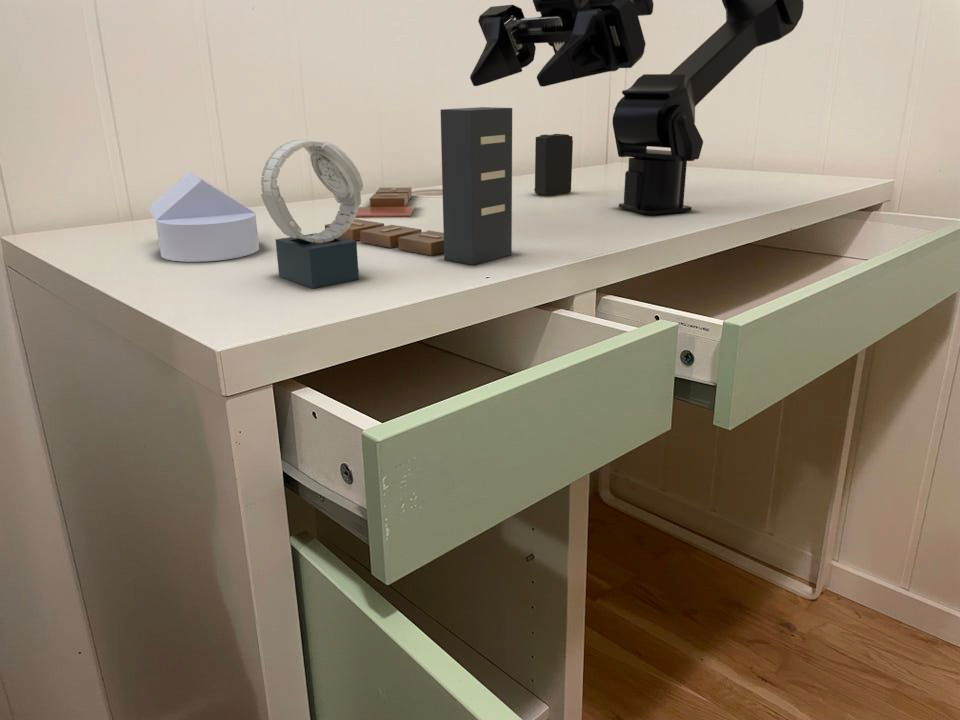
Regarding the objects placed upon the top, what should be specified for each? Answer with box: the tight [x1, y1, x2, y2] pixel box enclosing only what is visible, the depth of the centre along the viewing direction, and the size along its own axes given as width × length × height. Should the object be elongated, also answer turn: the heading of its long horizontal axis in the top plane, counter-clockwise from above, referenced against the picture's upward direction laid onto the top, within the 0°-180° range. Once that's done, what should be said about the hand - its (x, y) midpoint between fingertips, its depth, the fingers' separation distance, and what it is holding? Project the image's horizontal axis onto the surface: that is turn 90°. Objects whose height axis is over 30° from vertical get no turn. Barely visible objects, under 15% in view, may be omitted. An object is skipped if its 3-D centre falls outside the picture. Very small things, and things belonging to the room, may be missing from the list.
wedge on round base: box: [147, 171, 260, 263], centre depth 76 cm, size 9×7×13 cm
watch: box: [260, 139, 364, 289], centre depth 63 cm, size 6×8×11 cm
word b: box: [355, 186, 415, 218], centre depth 100 cm, size 17×7×1 cm, turn 0°
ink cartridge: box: [533, 133, 574, 197], centre depth 108 cm, size 5×2×8 cm, turn 127°
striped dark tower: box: [440, 106, 513, 266], centre depth 69 cm, size 4×6×13 cm, turn 140°
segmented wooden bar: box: [324, 218, 444, 257], centre depth 78 cm, size 15×4×1 cm, turn 50°
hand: (504, 81), depth 74 cm, fingers open, 9 cm apart
